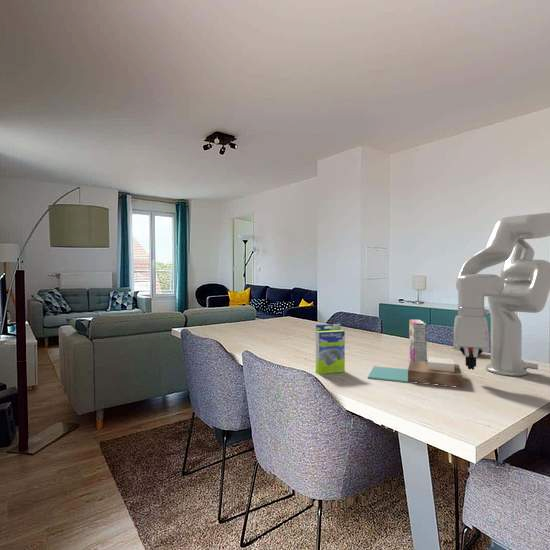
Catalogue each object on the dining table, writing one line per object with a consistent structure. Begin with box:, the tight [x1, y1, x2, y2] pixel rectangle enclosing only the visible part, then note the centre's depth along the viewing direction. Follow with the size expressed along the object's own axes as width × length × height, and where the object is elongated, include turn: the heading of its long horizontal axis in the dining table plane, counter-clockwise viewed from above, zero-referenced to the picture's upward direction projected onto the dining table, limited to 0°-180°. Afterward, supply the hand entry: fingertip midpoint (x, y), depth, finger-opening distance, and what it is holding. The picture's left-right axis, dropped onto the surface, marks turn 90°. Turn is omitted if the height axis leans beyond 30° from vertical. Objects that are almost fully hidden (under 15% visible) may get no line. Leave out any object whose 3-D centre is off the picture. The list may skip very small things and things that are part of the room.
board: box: [407, 359, 463, 388], centre depth 124 cm, size 16×14×4 cm
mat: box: [367, 365, 409, 383], centre depth 130 cm, size 13×15×1 cm
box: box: [314, 323, 346, 375], centre depth 134 cm, size 10×4×17 cm, turn 106°
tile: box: [427, 356, 455, 372], centre depth 124 cm, size 8×7×2 cm
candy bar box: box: [408, 319, 428, 362], centre depth 147 cm, size 11×5×16 cm, turn 168°
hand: (470, 368), depth 120 cm, fingers closed
